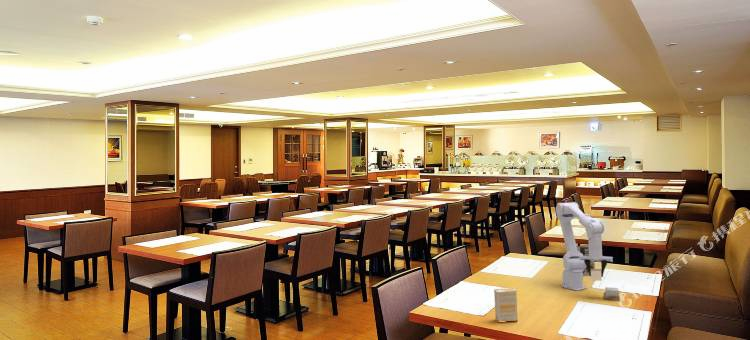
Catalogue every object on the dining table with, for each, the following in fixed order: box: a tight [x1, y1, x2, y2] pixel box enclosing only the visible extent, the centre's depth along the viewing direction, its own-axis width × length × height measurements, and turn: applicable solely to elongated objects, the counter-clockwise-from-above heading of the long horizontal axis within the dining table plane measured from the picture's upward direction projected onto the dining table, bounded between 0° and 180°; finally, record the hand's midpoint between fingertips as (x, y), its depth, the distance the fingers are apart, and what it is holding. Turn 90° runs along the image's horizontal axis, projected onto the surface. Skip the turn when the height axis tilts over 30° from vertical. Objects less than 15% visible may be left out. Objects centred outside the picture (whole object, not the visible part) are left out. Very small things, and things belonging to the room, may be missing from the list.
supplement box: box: [493, 287, 518, 322], centre depth 204 cm, size 8×5×13 cm, turn 92°
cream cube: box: [590, 268, 603, 282], centre depth 232 cm, size 4×4×4 cm
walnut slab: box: [603, 292, 621, 302], centre depth 230 cm, size 6×6×2 cm
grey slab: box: [604, 286, 620, 296], centre depth 230 cm, size 6×6×2 cm
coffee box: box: [576, 244, 596, 276], centre depth 279 cm, size 9×6×16 cm
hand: (596, 276), depth 232 cm, fingers closed on cream cube, 4 cm apart
